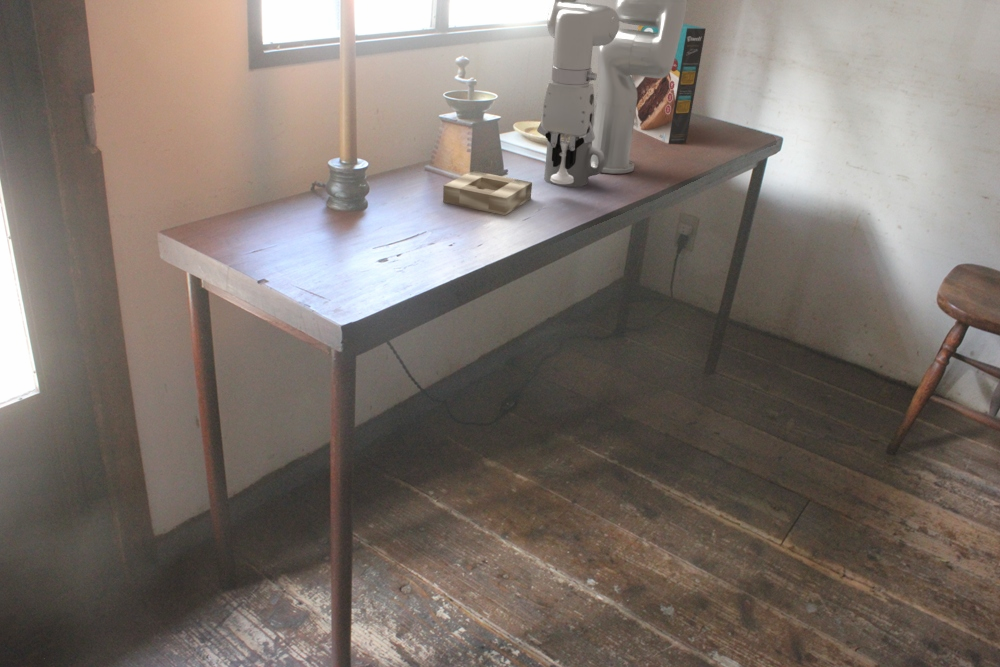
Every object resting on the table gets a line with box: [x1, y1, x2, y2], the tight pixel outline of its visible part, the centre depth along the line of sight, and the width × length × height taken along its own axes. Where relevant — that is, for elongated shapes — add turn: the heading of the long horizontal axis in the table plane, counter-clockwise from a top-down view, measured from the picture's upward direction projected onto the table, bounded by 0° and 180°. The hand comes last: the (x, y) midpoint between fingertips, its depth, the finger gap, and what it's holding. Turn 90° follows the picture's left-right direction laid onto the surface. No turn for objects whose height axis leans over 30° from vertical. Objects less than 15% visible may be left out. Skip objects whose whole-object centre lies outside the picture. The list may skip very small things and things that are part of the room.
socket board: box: [442, 170, 533, 216], centre depth 163 cm, size 13×14×4 cm
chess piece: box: [550, 134, 574, 184], centre depth 164 cm, size 5×5×10 cm
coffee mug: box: [543, 134, 605, 188], centre depth 177 cm, size 13×10×10 cm
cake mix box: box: [631, 23, 706, 145], centre depth 221 cm, size 22×6×30 cm, turn 25°
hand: (563, 165), depth 165 cm, fingers closed on chess piece
